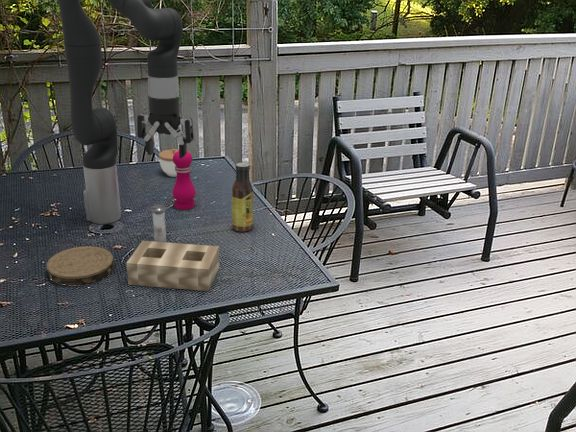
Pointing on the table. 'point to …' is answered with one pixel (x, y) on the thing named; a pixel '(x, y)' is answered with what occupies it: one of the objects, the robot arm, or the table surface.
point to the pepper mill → (183, 182)
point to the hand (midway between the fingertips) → (166, 155)
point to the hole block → (173, 265)
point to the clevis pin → (159, 222)
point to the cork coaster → (80, 265)
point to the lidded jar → (168, 162)
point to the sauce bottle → (242, 199)
